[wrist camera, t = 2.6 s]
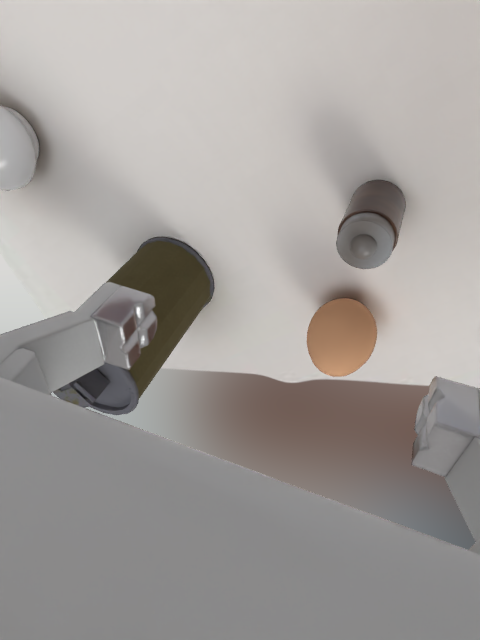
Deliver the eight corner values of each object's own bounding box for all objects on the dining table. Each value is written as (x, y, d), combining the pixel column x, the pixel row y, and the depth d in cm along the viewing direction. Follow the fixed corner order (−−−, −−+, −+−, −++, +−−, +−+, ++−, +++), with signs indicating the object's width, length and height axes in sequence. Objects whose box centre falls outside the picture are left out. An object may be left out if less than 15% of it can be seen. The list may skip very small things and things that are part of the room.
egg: (383, 335, 47) (370, 398, 41) (322, 331, 50) (301, 390, 43) (381, 283, 43) (365, 345, 37) (315, 282, 46) (289, 339, 40)
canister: (174, 221, 48) (52, 343, 34) (231, 293, 51) (142, 430, 38) (119, 258, 55) (-1, 371, 41) (173, 319, 58) (80, 442, 44)
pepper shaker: (412, 185, 36) (401, 232, 31) (397, 234, 39) (384, 284, 34) (356, 175, 37) (336, 218, 32) (346, 223, 40) (326, 270, 35)
